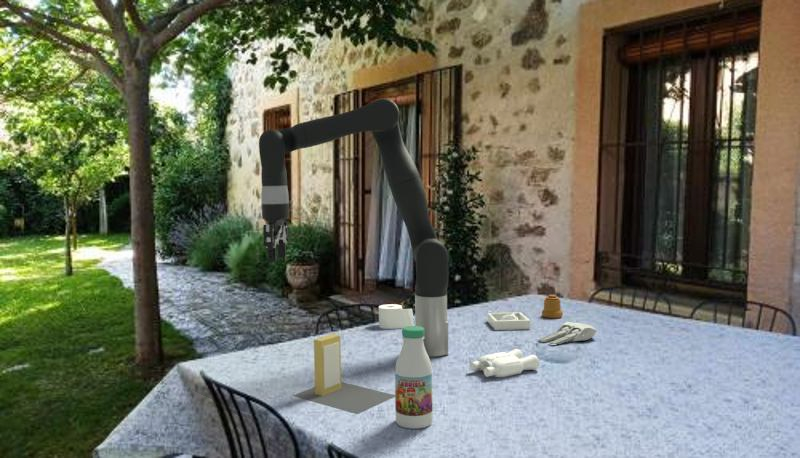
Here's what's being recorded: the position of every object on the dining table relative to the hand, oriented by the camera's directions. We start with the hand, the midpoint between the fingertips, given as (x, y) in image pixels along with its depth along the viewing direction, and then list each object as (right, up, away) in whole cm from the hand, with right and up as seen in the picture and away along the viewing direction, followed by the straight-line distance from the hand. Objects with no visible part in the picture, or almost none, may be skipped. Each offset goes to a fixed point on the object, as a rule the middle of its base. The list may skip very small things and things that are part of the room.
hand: (277, 259), depth 175 cm
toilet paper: (+33, -25, +40) cm, 58 cm away
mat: (+22, -31, -30) cm, 48 cm away
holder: (+72, -25, +40) cm, 86 cm away
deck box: (+18, -30, -27) cm, 44 cm away
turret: (+87, -27, +20) cm, 93 cm away
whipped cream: (+72, -25, +40) cm, 86 cm away
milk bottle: (+38, -32, -46) cm, 67 cm away
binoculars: (+62, -29, -12) cm, 69 cm away
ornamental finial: (+90, -24, +53) cm, 107 cm away
